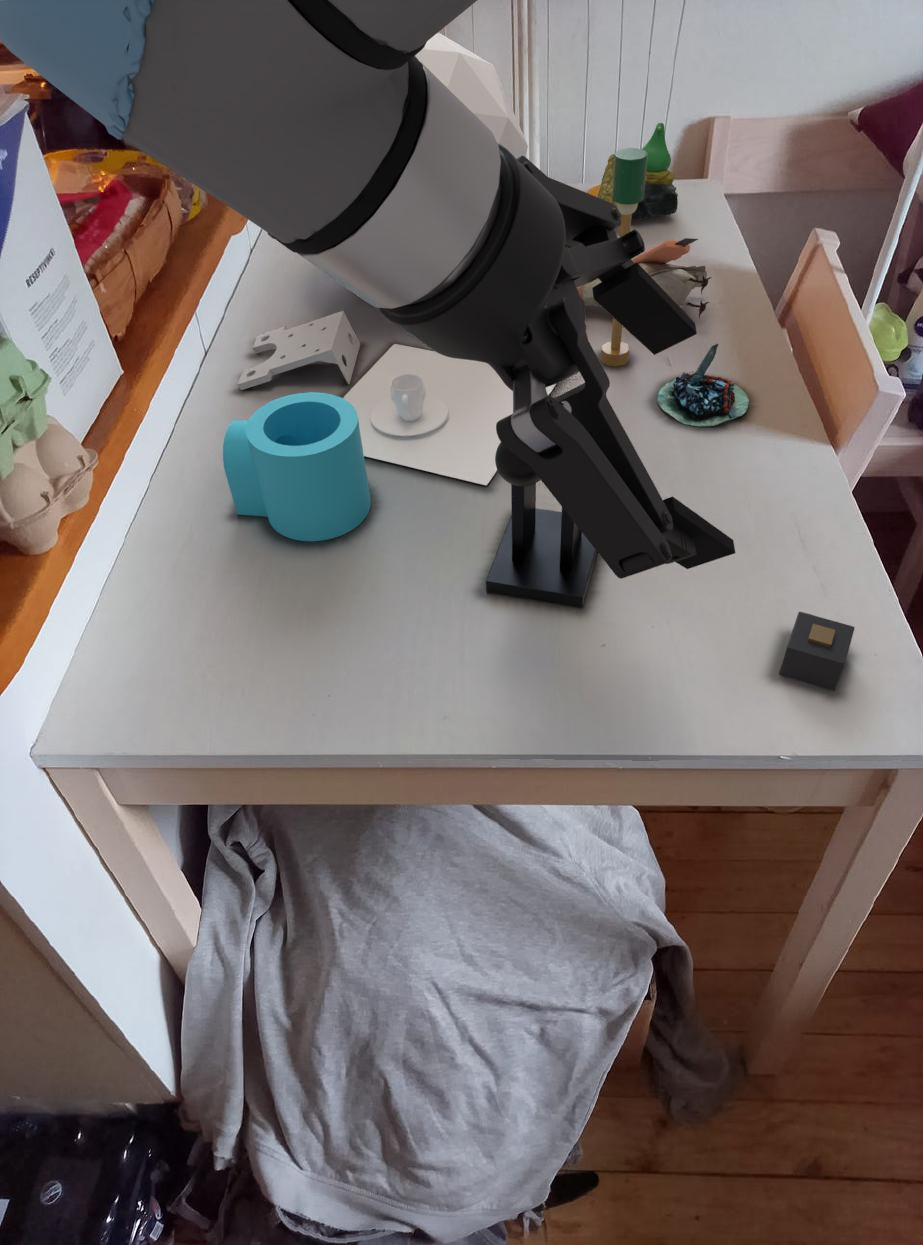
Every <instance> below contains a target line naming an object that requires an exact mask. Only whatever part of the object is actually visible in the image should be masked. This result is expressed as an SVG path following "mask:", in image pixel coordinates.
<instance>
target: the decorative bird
mask: <svg viewBox="0 0 923 1245" xmlns="http://www.w3.org/2000/svg"><path fill="white" fill-rule="evenodd" d="M639 265H640V266H641V267H642V268H643V269H644V270H645V271H646V272H647V273H648V274H649V275H650V276H651V277H652V279H653V280H654V281H655V282H656V283H657V284H658V285H659V286H660V287H661V288H662V289H663V290H664V291H665V292H666V293H667V294H668V295H669V296H670V297H671V298H672V299H673V300H674V301H675V303H676V304H677V305H678V306H679V307H687V306H689V307H690V308H691V307H692V308H698V319H699V320H701V315H702V313H703V312H705V311H706V308H707V304H709V303H710V301H706V302H704V303H703V300H701V301H700V302H699V304H694V303H692V302H690V301H688V300H687V298H688V297H689V295H690V294H691V292H692V291H693V290H694V289H695V288H701V289H700V294H701V295H703V291H704V289H705V288H706V287H707V286H708V285H709V280H710V279H712V277H711V276H710V277H707V276H708V272H707V269H706V266H705V265H699V266H697V265H692V266H691V265H690V266H684V265H677V264H671V263H666V264H665V263H641V264H639ZM600 283H601V281H600V280H599V279H596V280H594V281H592V282H590V283H588V284H585V285H582V286H579V287H577V290H578V292H579V296H580V298H581V299H582V300H583V301H584V306H585V308H587V307H594V306H601V305H600V304H599V303H597V302H596V301H595V300H594V297H593V289H592V288H593V287H594V286H596V285H598V284H600Z"/></svg>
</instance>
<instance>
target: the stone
mask: <svg viewBox="0 0 923 1245" xmlns="http://www.w3.org/2000/svg"><path fill="white" fill-rule="evenodd" d="M676 191H677V187H676V186H675V185H674V184H673V183H672V184H671V185H670V186H664V185H649V184H645V191H644V199H643V200H642V201H641V202H639V203H638V206H637V209H636V210H635V212H634V213H632V216H631V221H633V220H635V221H637V220H643V219H650V218H654V217H659V216H663V217H665V216H671V215H672V214H673V215H674V214H676V212H677V210H678V205H679V203H678V202H679V200H678V196H679V194H678V192H676Z"/></svg>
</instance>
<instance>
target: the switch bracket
mask: <svg viewBox="0 0 923 1245" xmlns="http://www.w3.org/2000/svg"><path fill="white" fill-rule="evenodd" d="M510 486H511V491H510V492H511V493H510V495H511V499H510V500H511V515H510V517H509V520H508V522H507V524H506V528H505V530H504V534H503V536H502V538H501V541H500V544H499V545H498V549H497V551H496V554H495V557H494V559H493V562H492V564H491V567H490V570H489V572H488V574H487V577H486V580H485V592H487V593H492V594H498V595H505V596H511V597H515V598H523V599H530V600H535V601H539V602H540V601H542V602H547V603H554V604H558V605H563V606H564V605H565V606H569V607H571V606H572V607H577V608H583V607H584V603H585V599H586V596H587V592H588V588H589V585H590V582H591V578H592V574H593V570H594V567H595V563H596V559H597V556H598V552H597V551H596V549H595V548H594V547H593V546H592V544H591V543H590V542H589V540H588V539H587V538H586V537H585V535H584V534H583V533H582V532H581V530H580V529H579V528H578V526H577V525H576V524H575V523H574V521H573V520H572V519H571V518H570V516H569V515H568V514H567V512H566V511H565V510H564V509H563V507H562V506H561V511H556V510H551V509H550V510H549V509H542V508H537V507H536V506H537V483H535V484H533V485H530V486H525V487H521V486H515V485H512V484H510Z"/></svg>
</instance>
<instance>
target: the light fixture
mask: <svg viewBox="0 0 923 1245" xmlns="http://www.w3.org/2000/svg"><path fill="white" fill-rule="evenodd" d="M415 57H416V58H417V59H418V60H419V61H420V62H421V63H422V64H423V65H424V66H425V67H426V68H427V69H429V70H430V71H431V72H432V73H433V74H434V75H435V76H436V77H437V78H438V79H439V80H440V81H441V82H442V83H443V84H444V85H445V86H446V87H447V88H448V89H449V90H450V91H451V92H452V93H453V94H454V95H455V96H456V97H457V98H458V99H459V100H460V101H461V102H462V103H463V104H464V105H465V106H466V107H467V108H468V109H469V110H470V111H471V112H472V113H473V114H474V115H475V116H476V117H477V118H478V119H479V120H480V121H481V122H482V123H483V124H484V125H485V126H486V127H488V128H489V129H490V130H491V131H492V133H493V135H494V137H495V139H496V141H497V143H498V144H500V145H502V146H503V147H505V148H506V149H507V150H508V151H509V152H510V153H511V154H512V155H513V156H514V157H515V158H516V159H517V158H519V157H520V156H524V157H526V158H527V154H528V148H529V144H528V143H527V141H526V138H525V136H524V133H523V131H522V128H521V127H520V124H519V121H518V119H517V116H516V114H515V112H514V109H513V107H512V105H511V103H510V100H509V98H508V95H507V93H506V91H505V88H504V86H503V83H502V81H501V78H500V76H499V74H498V71H497V69H496V67H495V65H494V64H493V63H491V62H489V61H487V60H485V59H483V57H480V56H479V55H477V54H475V53H474V52H472V51H471V50H468V49H467V48H465V47H464V46H462V45H461V44H459V43H458V42H456V41H453V40H452V39H450V38H449V37H447V36H446V35H444V34H442V33H441V32H440V31H439V32H438V33H437V34H436V35H434V36H433V37H432V38H431V39H429V40H428V41H427V43H426V45H425V47H424V48H423V49H422V50H421V51H420V52H418V53H417V54H416V55H415ZM565 247H568V248H570V247H572V246H569V245H565Z"/></svg>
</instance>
